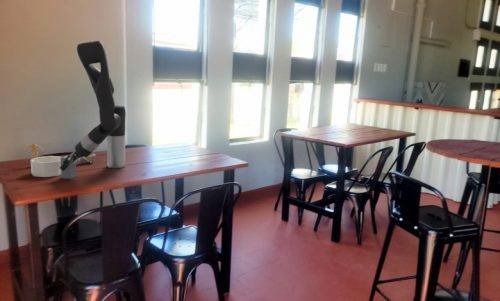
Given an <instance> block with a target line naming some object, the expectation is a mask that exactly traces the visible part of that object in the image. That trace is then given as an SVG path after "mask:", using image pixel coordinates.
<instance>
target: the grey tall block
mask: <svg viewBox="0 0 500 301" xmlns="http://www.w3.org/2000/svg"><path fill="white" fill-rule="evenodd" d="M68 156H69V155H64V156H60V157H61V166H62V165H63V164H64V163H63V161H64V160H65V159H66V158H67V157H68ZM76 164H77V162H76V163H75V162H74V163H71V164H70V165H69V166H68V167H67V168H66V169H65V170H64V171H62V170H61V174H60V176H61V177H60V178H61V179H67V180H68V179H70V180H71V179H73V178H75V177H77V170H76V169H77V168H76V166H77V165H76Z"/></svg>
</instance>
